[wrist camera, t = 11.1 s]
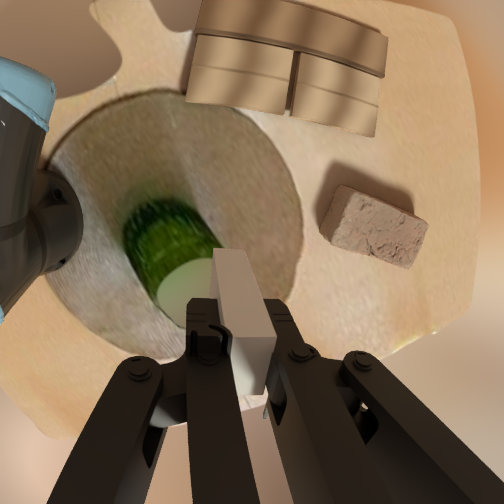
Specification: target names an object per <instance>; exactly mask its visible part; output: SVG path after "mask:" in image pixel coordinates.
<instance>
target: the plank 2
mask: <svg viewBox="0 0 504 504" xmlns="http://www.w3.org/2000/svg"><path fill="white" fill-rule="evenodd" d="M380 84H381V79H380V78H378V77H375V76H373V75H370V74H368V73H365V72H362V71H359V70H357V69H354V68H351V67H348V66H345V65H342V64H339V63H336V62H333V61H330V60H326V59H323V58H319V57H316V56H312V55H309V54H305V53H300V54H299V55H298V61H297V68H296V75H295V82H294V89H293V95H292V102H291V109H290V116H289V117H292V118H297V119H302V120H306V121H310V122H315V123H319V124H323V125H327V126H331V127H335V128H339V129H342V130H346V131H350V132H353V133H357V134H360V135H363V136H367V137H374V136H375V129H376V121H377V113H378V104H379V94H380Z"/></svg>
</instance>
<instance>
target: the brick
mask: <svg viewBox="0 0 504 504" xmlns="http://www.w3.org/2000/svg"><path fill="white" fill-rule="evenodd" d="M428 226H429V225H428V224H427V223H426V222H425V221H424V220H422V219H420V218H419V217H417V216H415V215H413V214H411V213H409V212H406V211H404V210H402V209H400V208H398V207H396V206H393V205H391V204H389V203H386V202H384V201H382V200H380V199H377V198H375V197H372V196H370V195H367V194H365V193H362V192H360V191H357V190H355V189H352V188H349V187H346V186H343V185H340V186H338V188H337V189H336V192H335V193H334V195H333V199H332V202H331V205H330V207H329V209H328V212H327V213H326V216H325V218H324V219H323V221H322V224H321V227H320V234H321V235H323V237H324V239H326V240H328V241H329V242H330V243H331V245H333V246H336V247H340V248H342V249H345V250H347V251H350V252H354V253H360V254H363V255H368V256H371V257H376V258H378V259H380V260H384V261H386V262H387V263H391V264H393V265H396V266H399V267H403V268H405V269H409V268H410V267H411V266H412V265H413V263H414V260H416V257H417V255H418V253H419V250H420V248H421V246H422V243H423V240H424V237H425V233H426V231H427V229H428Z"/></svg>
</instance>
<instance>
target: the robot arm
mask: <svg viewBox="0 0 504 504" xmlns="http://www.w3.org/2000/svg"><path fill="white" fill-rule="evenodd" d="M55 99H56V86H55V84H54V82H53V81H52V79H51V78H49V77H48V76H47V75H45V74H43V73H41V72H39V71H37V70H35V69H32V68H30V67H28V66H25V65H23V64H20V63H18V62H15V61H12V60H9V59H7V58H3V57H0V324H2V322H3V321H4V320H3V319H4V317H5V316H6V315H7V313H8V312H9V311H10V309H11V308H12V307H13V306H14V304H15V303H16V302H17V301H18V300H19V298H20V297H21V296H22V295H23V294H24V292H25V291H26V290H27V289H28V288H29V286H30V285H31V284H32V283H33V282H34V281H35V279H36V278H37V277H39V276H42V275H44V274H47V273H50V272H53V271H56V270H58V269H60V268H61V267H63V266H64V265H65V264H66V263H67V262H68V261H69V260H70V259H71V258H72V257H73V255H74V254H75V253H76V251H77V250H78V248H79V245H80V243H81V240H82V235H83V215H82V210H81V206H80V203H79V201H78V198H77V196H76V194H75V193H74V191H73V189H72V188H71V187H70V185H69V184H68V183H67V182H66V181H65V180H64V179H63V178H62V177H60V176H59V175H57V174H56V173H54V172H51V171H49V170H44V169H37V166H38V162H39V158H40V154H41V150H42V146H43V143H44V139H45V136H46V132H48V131H49V125H48V124H49V120H50V116H51V112H52V109H53V106H54V102H55ZM265 386H266V388H267V391H268V398H267V402H266V406H265V409H264V413H263V419H266V418H267V414H268V413H269V417H270V421H271V424H272V428H273V432H274V435H275V439H276V443H277V446H278V450H279V453H280V457H281V460H282V464H283V467H284V471H285V475H286V478H287V481H288V485H289V488H290V492H291V495H292V499H293V502H294V504H504V482H503V481H502V480H501V479H500V478H499V477H498V476H496V475H495V473H493V471H491V469H490V468H489V467H487V466H486V465H485V463H483V462H482V461H481V460H480V459H479V458H478V457H477V456H476V455H475V454H474V453H473V452H472V451H471V450H470V449H469V448H468V447H467V446H466V445H465V444H464V443H463V442H462V441H461V440H460V439H459V438H458V437H457V436H456V435H455V434H454V433H453V432H452V431H451V430H450V429H449V428H448V427H447V426H446V425H445V424H444V423H443V422H442V421H441V420H440V419H439V418H438V417H437V416H436V415H435V414H434V413H433V412H432V411H430V409H429V408H427V407H426V406H425V405H424V404H423V403H422V402H421V401H420V400H419V399H418V398H417V397H416V396H415V395H414V394H413V393H412V392H411V391H410V390H409V389H408V388H407V387H406V386H405V385H404V384H402V382H401V381H400V380H398V378H396V377H395V376H394V375H393V374H392V373H391V372H390V371H389V370H388V369H387V368H386V367H385V366H384V365H383V364H382V363H381V362H380V361H379V360H378V359H377V358H376V357H374V356H373V355H371V354H369V353H367V352H364V351H351V352H349V353H347V354H346V355H345V357H344V359H343V361H342V360H334V359H328V358H324V357H321V356H320V354H319V352H318V351H317V350H316V348H314V347H313V346H311V345H309V344H306V343H305V342H304V340H303V338H302V336H301V334H300V332H299V330H298V328H297V326H296V324H295V322H294V319H293V317H292V315H291V313H290V311H289V309H288V307H287V306H286V305H285V304H284V303H283V302H282V301H281V300H279V299H263V298H262V295H261V293H260V290H259V287H258V285H257V282H256V279H255V277H254V274H253V271H252V269H251V266H250V263H249V260H248V258H247V255H246V252H245V250H241V249H222V248H213V261H212V273H211V287H210V298H192V299H191V300H190V301H189V302H188V304H187V311H186V349H185V352H184V354H183V355H182V356H181V357H180V358H179V359H177V360H175V361H173V362H170V363H166V364H161V365H160V364H159V363H158V362H156V361H155V360H154V359H151V358H149V357H145V356H134V357H130V358H128V359H125V360H123V361H122V362H121V363H120V365H119V366H118V367H117V369H116V371H115V372H114V374H113V376H112V377H111V379H110V381H109V383H108V385H107V386H106V388H105V390H104V392H103V393H102V395H101V397H100V399H99V401H98V402H97V404H96V406H95V408H94V410H93V411H92V413H91V415H90V417H89V419H88V421H87V423H86V424H85V426H84V428H83V430H82V432H81V434H80V436H79V438H78V440H77V442H76V444H75V446H74V447H73V450H72V451H71V454H70V455H69V458H68V459H67V461H66V463H65V465H64V467H63V470H62V472H61V474H60V476H59V478H58V480H57V482H56V484H55V486H54V488H53V490H52V493H51V495H50V497H49V499H48V501H47V504H144V503H145V499H146V496H147V492H148V489H149V486H150V483H151V480H152V476H153V473H154V470H155V467H156V464H157V460H158V457H159V454H160V450H161V448H162V444H163V441H164V438H165V435H166V432H167V429H168V426H172V425H176V424H180V423H184V422H187V425H188V446H189V461H190V474H191V487H192V498H193V504H260V500H259V496H258V492H257V488H256V483H255V479H254V474H253V470H252V465H251V460H250V456H249V451H248V446H247V441H246V437H245V432H244V427H243V422H242V417H241V412H240V406H239V401H238V396H246V395H263V394H264V390H265ZM363 403H364V404H365V405H366V406H367V407H368V409H365V408H363V407H362V406H361V405H362V404H363Z"/></svg>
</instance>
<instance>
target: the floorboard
mask: <svg viewBox="0 0 504 504" xmlns="http://www.w3.org/2000/svg"><path fill="white" fill-rule="evenodd" d="M195 35H197V36H198V35H206V36H215V37H224V38H231V39H238V40H244V41H250V42H256V43H261V44H266V45H271V46H276V47H280V48H285V49H289V50H293V51H294V52H298V53H305V54H309V55H312V56H316V57H319V58H323V59H326V60H330V61H333V62H336V63H339V64H342V65H345V66H348V67H351V68H354V69H357V70H359V71H362V72H365V73H368V74H370V75H373V76H375V77H378V78H384V76H385V65H386V57H387V47H388V37H386V36H384V35H382V34H380V33H377V32H375V31H373V30H370V29H368V28H366V27H363V26H361V25H358V24H356V23H353V22H350V21H348V20H345V19H342V18H339V17H336V16H333V15H330V14H327V13H324V12H321V11H318V10H315V9H311V8H308V7H304V6H301V5H297V4H293V3H289V2H285V1H281V0H202V4H201V9H200V12H199V16H198V20H197V24H196V28H195Z"/></svg>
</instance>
